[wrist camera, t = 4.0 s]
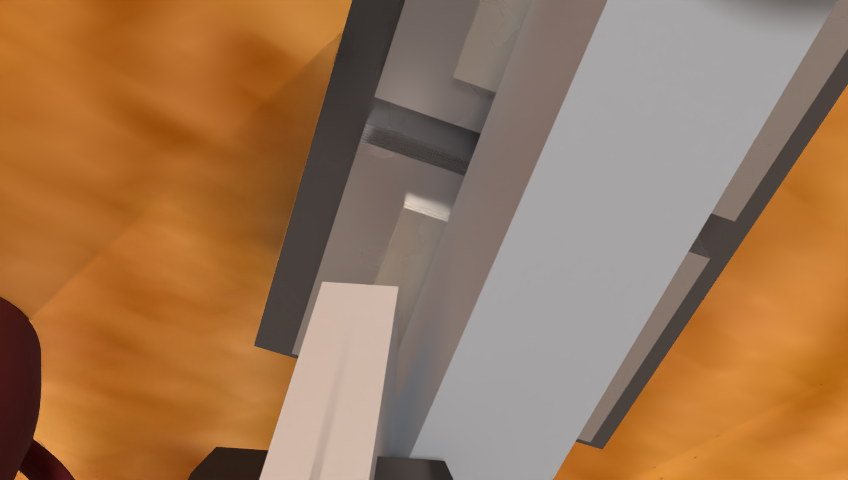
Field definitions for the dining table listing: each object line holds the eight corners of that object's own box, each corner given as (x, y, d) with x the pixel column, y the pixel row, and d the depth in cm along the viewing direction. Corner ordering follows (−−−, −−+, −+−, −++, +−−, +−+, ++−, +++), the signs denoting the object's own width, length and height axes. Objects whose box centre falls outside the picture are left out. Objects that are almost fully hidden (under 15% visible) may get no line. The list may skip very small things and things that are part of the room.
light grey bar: (550, -178, 11) (600, -167, 7) (764, -99, 12) (937, -42, 7) (306, 519, 20) (260, 719, 15) (434, 551, 20) (424, 755, 16)
